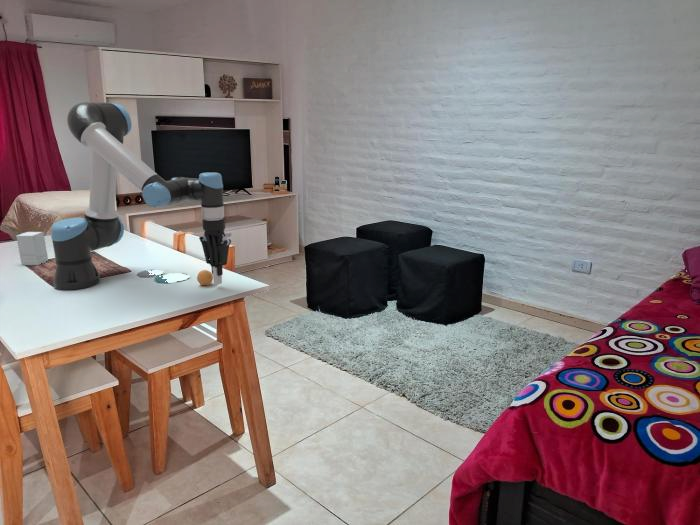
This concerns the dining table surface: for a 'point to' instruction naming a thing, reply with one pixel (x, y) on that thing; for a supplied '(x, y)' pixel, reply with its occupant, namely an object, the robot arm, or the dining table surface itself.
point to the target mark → (160, 279)
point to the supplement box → (32, 248)
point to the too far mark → (145, 274)
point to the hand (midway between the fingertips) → (217, 283)
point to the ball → (205, 277)
